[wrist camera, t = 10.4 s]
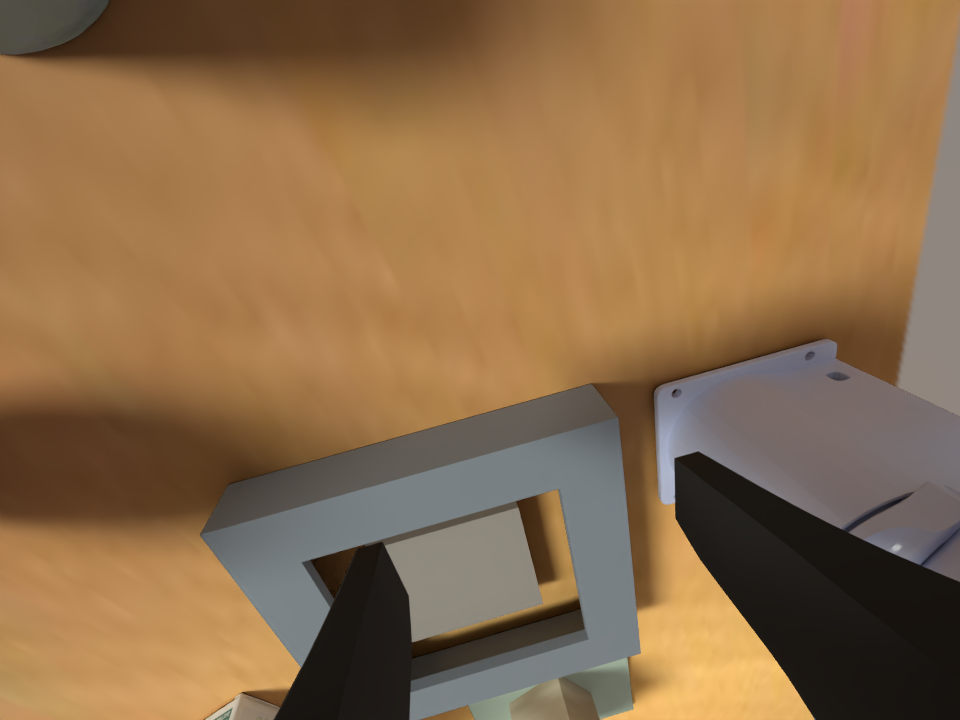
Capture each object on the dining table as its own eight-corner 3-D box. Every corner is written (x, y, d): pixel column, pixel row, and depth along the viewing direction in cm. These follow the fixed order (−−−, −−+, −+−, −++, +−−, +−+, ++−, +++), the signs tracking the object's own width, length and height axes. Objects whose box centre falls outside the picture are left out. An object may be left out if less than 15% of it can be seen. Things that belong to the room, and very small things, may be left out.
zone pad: (622, 632, 30) (624, 638, 30) (631, 703, 34) (633, 709, 34) (459, 681, 30) (459, 687, 29) (489, 746, 34) (490, 752, 34)
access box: (591, 383, 21) (618, 417, 18) (619, 607, 29) (640, 653, 26) (228, 484, 20) (199, 535, 17) (360, 683, 28) (355, 739, 25)
